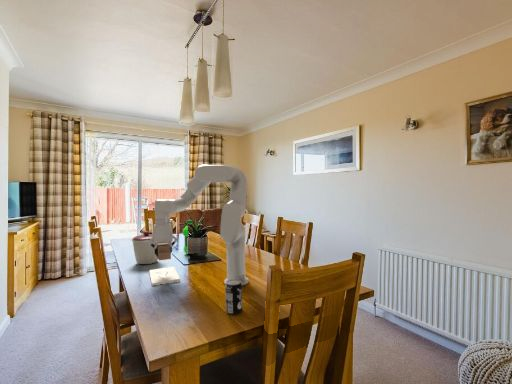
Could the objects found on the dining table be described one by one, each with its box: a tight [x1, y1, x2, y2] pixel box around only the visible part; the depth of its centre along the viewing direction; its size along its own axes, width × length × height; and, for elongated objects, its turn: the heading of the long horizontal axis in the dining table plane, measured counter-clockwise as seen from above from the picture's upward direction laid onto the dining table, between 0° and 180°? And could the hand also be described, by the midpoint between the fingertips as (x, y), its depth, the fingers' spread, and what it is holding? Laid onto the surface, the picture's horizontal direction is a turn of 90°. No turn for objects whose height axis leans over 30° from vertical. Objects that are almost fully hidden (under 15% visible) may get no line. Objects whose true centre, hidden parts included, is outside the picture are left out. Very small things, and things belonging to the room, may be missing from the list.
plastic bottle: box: [182, 219, 194, 255], centre depth 200 cm, size 10×10×25 cm
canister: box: [131, 230, 159, 265], centre depth 181 cm, size 18×18×21 cm
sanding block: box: [157, 243, 172, 261], centre depth 149 cm, size 10×6×7 cm, turn 28°
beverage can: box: [224, 279, 243, 316], centre depth 108 cm, size 7×7×12 cm
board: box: [148, 266, 181, 287], centre depth 152 cm, size 24×14×2 cm, turn 24°
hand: (163, 254), depth 149 cm, fingers closed on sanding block, 6 cm apart
